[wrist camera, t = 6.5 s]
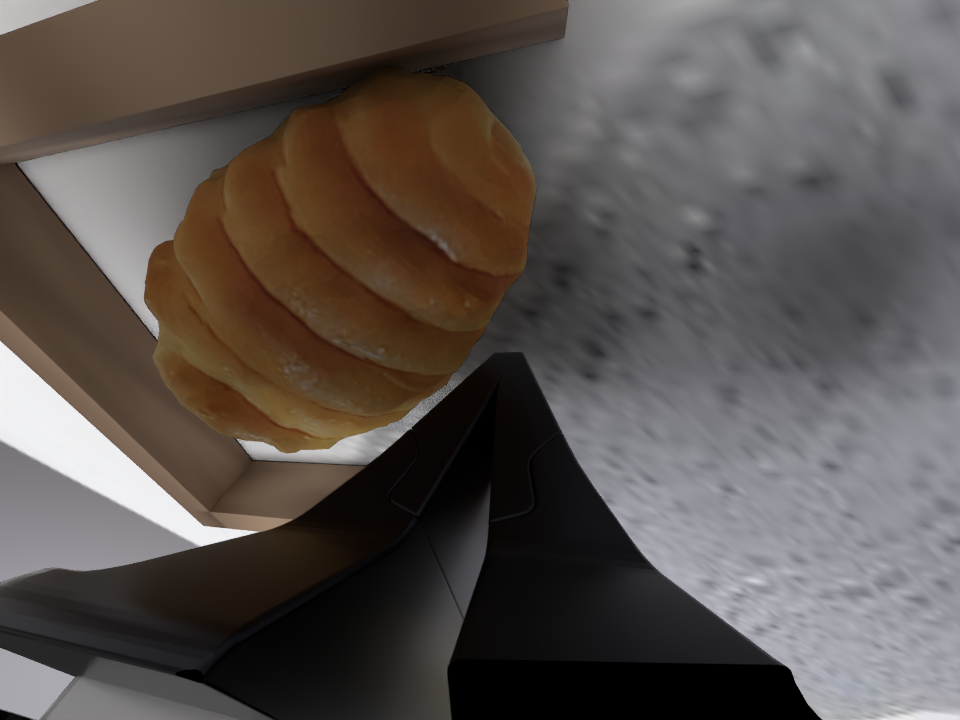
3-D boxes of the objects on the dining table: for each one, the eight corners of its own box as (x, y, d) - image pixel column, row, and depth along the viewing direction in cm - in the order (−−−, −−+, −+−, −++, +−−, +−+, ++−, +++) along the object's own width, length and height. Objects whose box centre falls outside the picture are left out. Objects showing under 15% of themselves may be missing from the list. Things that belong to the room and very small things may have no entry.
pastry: (382, -59, 6) (197, -228, 3) (606, 253, 8) (636, 346, 5) (198, 277, 11) (55, 350, 8) (373, 413, 13) (318, 510, 10)
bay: (562, -69, 5) (567, -167, 3) (570, 495, 13) (573, 564, 11) (-62, 116, 9) (-241, 121, 7) (244, 475, 17) (203, 525, 15)
